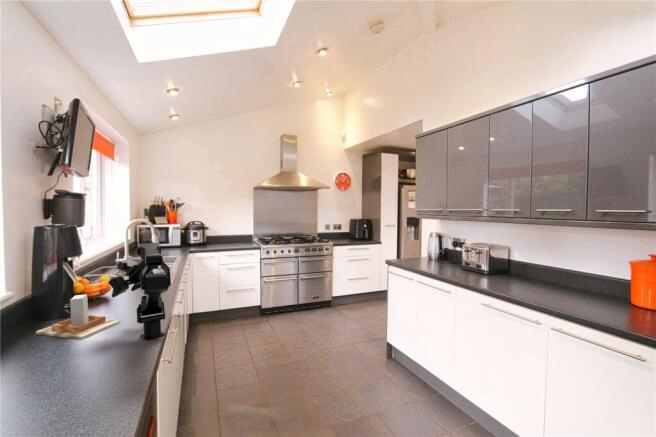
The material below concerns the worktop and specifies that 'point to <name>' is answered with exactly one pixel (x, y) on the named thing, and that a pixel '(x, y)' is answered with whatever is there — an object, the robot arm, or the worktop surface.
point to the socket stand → (79, 328)
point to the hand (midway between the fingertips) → (122, 293)
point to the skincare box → (79, 310)
